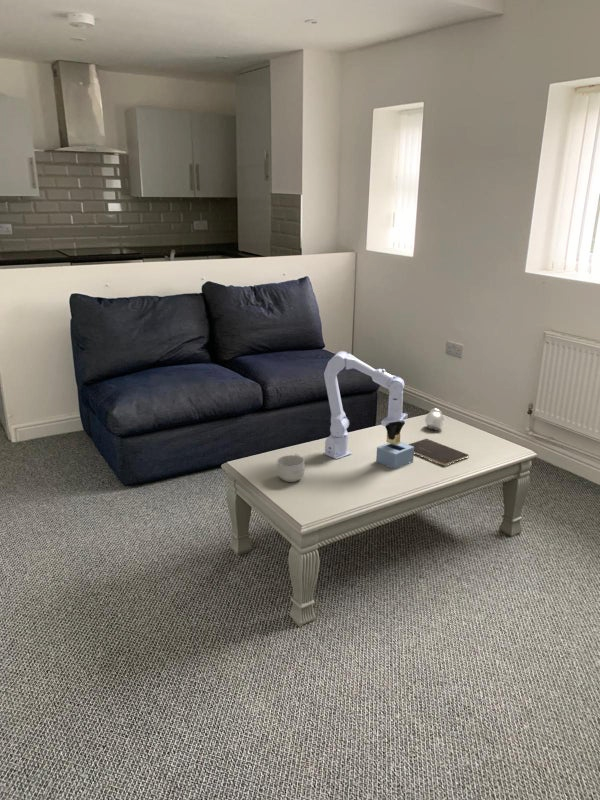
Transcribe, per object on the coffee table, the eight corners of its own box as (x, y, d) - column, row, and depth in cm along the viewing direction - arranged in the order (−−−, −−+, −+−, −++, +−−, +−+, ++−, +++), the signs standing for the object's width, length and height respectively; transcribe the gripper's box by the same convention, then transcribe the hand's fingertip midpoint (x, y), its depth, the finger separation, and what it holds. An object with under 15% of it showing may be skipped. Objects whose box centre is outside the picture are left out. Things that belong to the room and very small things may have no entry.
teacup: (295, 487, 242) (296, 467, 239) (271, 480, 247) (271, 461, 244) (313, 473, 253) (313, 455, 251) (289, 468, 258) (289, 449, 256)
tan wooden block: (395, 445, 262) (396, 435, 261) (386, 442, 266) (386, 431, 264) (399, 443, 264) (400, 433, 263) (390, 440, 268) (391, 430, 266)
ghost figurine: (447, 428, 305) (449, 408, 302) (437, 433, 298) (439, 413, 295) (431, 424, 311) (432, 404, 308) (420, 428, 304) (422, 409, 301)
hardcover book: (444, 468, 262) (444, 463, 261) (402, 451, 279) (402, 446, 278) (468, 459, 272) (468, 454, 271) (426, 442, 289) (427, 438, 288)
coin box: (394, 468, 259) (395, 454, 257) (376, 461, 266) (377, 446, 264) (413, 461, 267) (414, 446, 265) (394, 454, 274) (395, 440, 272)
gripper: (391, 413, 253) (389, 445, 257) (414, 405, 262) (412, 436, 266) (377, 409, 258) (376, 440, 262) (400, 401, 267) (398, 432, 271)
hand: (393, 438), depth 264 cm, fingers closed on tan wooden block, 3 cm apart
